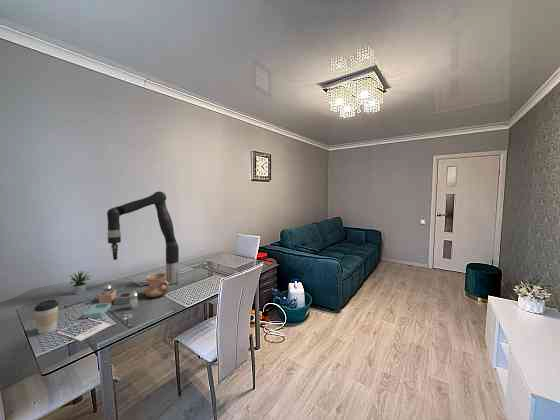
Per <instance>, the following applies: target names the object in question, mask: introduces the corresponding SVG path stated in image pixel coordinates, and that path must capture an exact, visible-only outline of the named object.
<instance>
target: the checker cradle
mask: <svg viewBox="0 0 560 420" xmlns="http://www.w3.org/2000/svg"><path fill="white" fill-rule="evenodd" d="M131 292H132V291H127V292H126V291H125V292H119V293H118V294H116V297H115V298H114V300H113V305H114V306H116V305H117V306H119V305H126V304H127V305H130V293H131Z"/></svg>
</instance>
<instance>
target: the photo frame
mask: <svg viewBox="0 0 560 420" xmlns="http://www.w3.org/2000/svg"><path fill="white" fill-rule="evenodd" d="M84 320H85V321H87V320H89V321H92V322H94V321H95V322H94V323H98V325H96V326H93V327H91V328H89V329H88V330H86V331H84V332H82V333H80V334H78V335H76V336H73V335H69V334H67V333H64V331H65V330H67V329H69V327H70V328H72V327H74V326H76V325H78V324H80V322H81V323H83V322H85V321H84ZM82 321H83V322H82ZM101 323H102V324H101ZM73 325H74V326H73ZM71 326H72V327H71ZM108 327H111V324H110V323H107V322H104V321H100V320H97V319H95V318H88V319H82V320H81V321H79V322H77V323H75V324H72V325H70V326H67V327H66V328H63V329H61V330H59V331H57V332H56V333H57V334H58V335H61V336H64V335H65V336H64V337H67V336H68V337H67V338H70V337H72V338H74V339H73V340H75V339H76V341H78V342H81V341H84V340H85V339H87V338H89V337H92V336H93V335H95V334H96V333H99V332H101V331H103V330H105V329H107V328H108ZM72 338H71V339H72Z"/></svg>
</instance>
